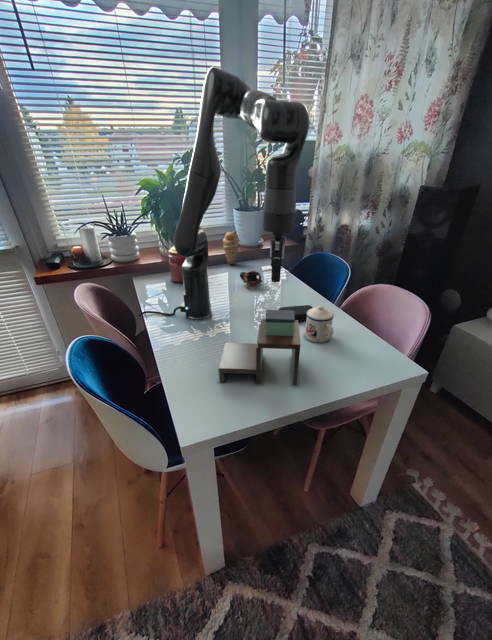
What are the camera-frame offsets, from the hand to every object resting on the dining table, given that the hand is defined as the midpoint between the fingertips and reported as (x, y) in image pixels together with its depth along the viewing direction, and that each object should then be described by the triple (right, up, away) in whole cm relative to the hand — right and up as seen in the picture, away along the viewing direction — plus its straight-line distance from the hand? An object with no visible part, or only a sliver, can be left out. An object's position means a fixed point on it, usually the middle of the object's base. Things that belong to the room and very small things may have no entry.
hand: (276, 275), depth 86 cm
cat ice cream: (-18, +41, +92) cm, 102 cm away
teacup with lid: (+17, -15, +28) cm, 36 cm away
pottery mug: (-7, +13, +70) cm, 72 cm away
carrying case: (+11, -6, +41) cm, 43 cm away
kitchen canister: (-41, +19, +78) cm, 91 cm away
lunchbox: (+1, -14, +5) cm, 15 cm away
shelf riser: (-4, -25, +12) cm, 28 cm away
